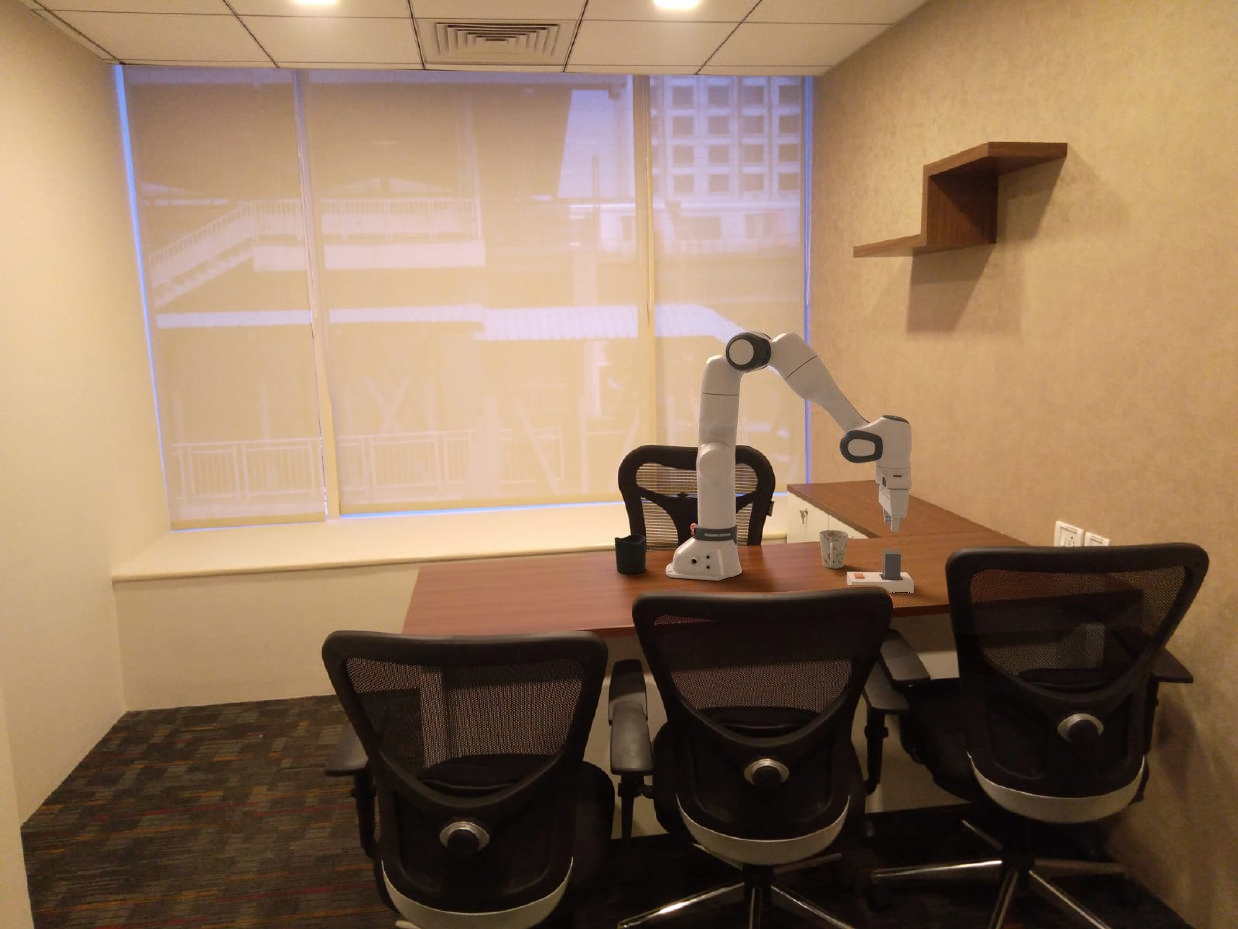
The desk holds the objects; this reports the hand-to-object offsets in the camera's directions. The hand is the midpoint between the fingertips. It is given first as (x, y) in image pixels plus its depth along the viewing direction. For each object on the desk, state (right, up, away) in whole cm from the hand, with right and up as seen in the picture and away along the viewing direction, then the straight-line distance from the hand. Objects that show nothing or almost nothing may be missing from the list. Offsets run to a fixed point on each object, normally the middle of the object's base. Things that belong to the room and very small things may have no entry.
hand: (891, 527), depth 216 cm
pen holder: (-69, -15, +28) cm, 76 cm away
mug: (-9, -14, +23) cm, 29 cm away
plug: (+1, -17, +3) cm, 17 cm away
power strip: (-2, -17, +3) cm, 17 cm away
